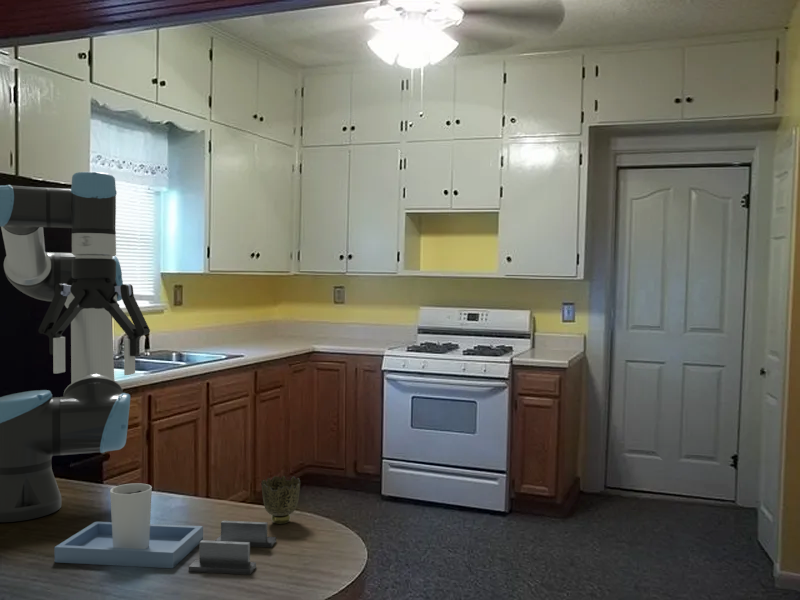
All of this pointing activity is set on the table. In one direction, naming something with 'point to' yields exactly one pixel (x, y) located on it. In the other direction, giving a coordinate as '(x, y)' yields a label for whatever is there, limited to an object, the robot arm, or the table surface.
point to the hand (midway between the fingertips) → (94, 373)
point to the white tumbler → (131, 515)
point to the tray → (98, 548)
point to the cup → (280, 497)
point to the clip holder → (232, 548)
